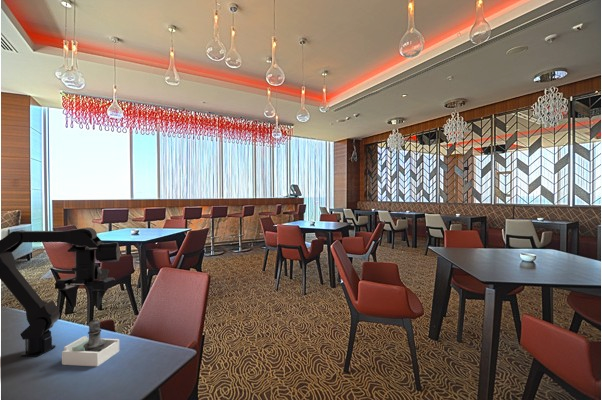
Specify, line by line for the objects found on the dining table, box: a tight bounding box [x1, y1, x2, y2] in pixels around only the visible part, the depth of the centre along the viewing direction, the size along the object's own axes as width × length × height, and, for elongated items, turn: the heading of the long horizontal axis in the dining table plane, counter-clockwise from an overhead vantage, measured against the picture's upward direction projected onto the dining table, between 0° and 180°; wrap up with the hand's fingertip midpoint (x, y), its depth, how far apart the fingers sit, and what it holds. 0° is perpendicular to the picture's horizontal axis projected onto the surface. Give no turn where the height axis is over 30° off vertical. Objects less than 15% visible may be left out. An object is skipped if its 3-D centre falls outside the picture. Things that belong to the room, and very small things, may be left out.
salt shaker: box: [83, 316, 106, 352], centre depth 93 cm, size 6×6×12 cm
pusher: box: [72, 337, 89, 351], centre depth 93 cm, size 1×7×4 cm, turn 174°
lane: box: [61, 335, 120, 367], centre depth 93 cm, size 12×9×5 cm
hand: (85, 307), depth 102 cm, fingers open, 9 cm apart
